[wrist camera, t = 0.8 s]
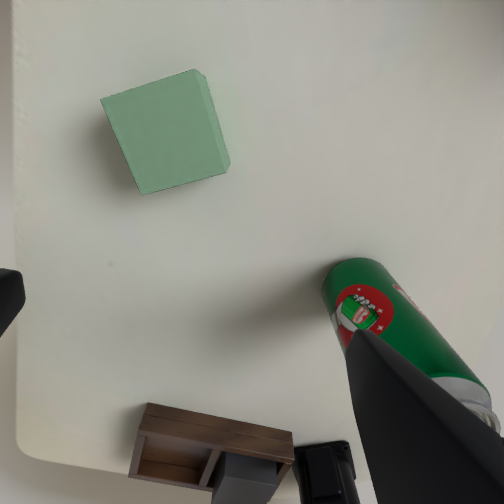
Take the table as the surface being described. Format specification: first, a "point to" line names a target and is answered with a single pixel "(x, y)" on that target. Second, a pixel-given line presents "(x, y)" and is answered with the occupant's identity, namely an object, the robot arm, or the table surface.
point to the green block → (168, 131)
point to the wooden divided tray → (211, 455)
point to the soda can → (400, 329)
